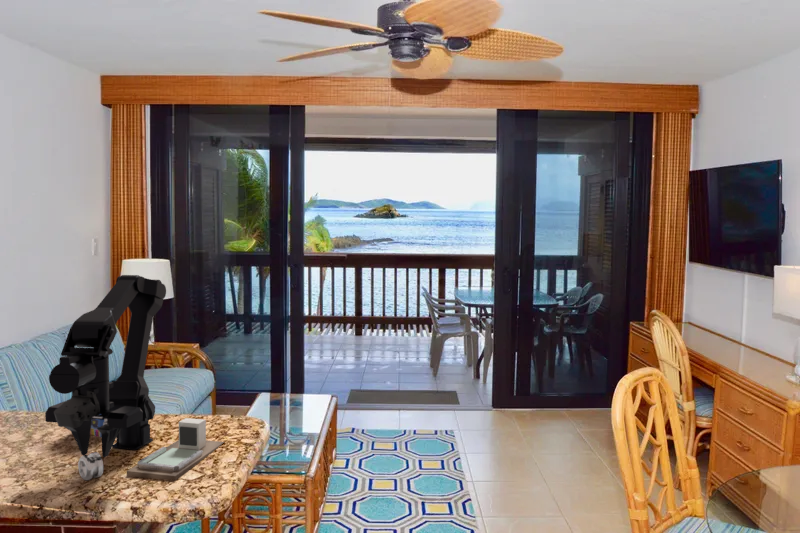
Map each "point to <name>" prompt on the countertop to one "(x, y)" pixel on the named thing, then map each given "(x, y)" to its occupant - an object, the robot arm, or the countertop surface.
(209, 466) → the countertop surface
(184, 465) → the rail guides
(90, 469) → the metal grooved wheel
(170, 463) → the rail board
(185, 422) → the block
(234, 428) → the countertop surface
